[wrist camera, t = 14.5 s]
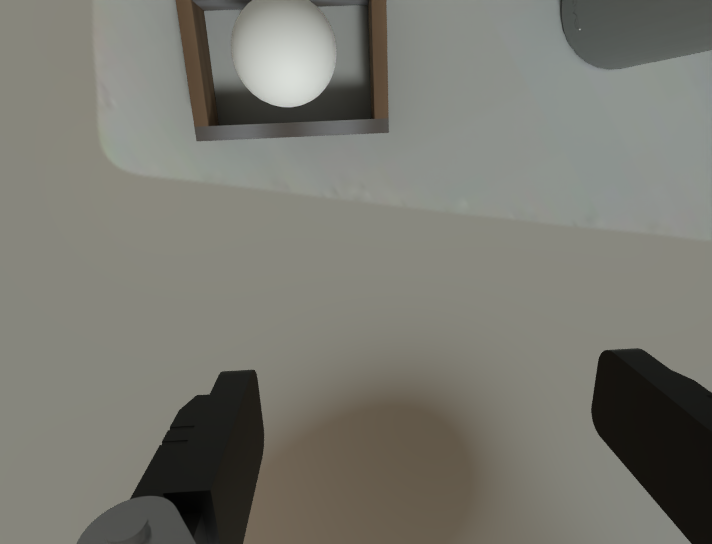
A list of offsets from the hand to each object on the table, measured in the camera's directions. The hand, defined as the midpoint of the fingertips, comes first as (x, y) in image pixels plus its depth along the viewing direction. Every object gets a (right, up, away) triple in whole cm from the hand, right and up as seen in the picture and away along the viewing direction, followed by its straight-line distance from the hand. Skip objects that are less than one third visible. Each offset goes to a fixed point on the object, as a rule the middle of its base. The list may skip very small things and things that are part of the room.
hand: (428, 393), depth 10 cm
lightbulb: (-6, +18, +23) cm, 30 cm away
